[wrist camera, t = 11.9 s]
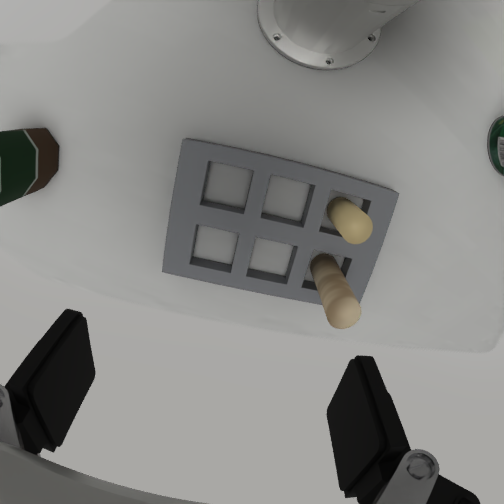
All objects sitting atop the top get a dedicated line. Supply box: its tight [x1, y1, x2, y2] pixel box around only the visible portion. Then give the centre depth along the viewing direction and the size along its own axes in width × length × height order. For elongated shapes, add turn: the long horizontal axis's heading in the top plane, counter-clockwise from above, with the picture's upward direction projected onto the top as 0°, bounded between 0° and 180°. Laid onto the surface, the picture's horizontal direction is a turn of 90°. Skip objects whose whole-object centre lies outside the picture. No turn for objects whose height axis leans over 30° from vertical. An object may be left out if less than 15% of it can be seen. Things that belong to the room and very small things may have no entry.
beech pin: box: [310, 254, 361, 329], centre depth 31 cm, size 3×3×10 cm
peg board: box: [162, 138, 399, 305], centre depth 31 cm, size 22×14×6 cm, turn 77°
